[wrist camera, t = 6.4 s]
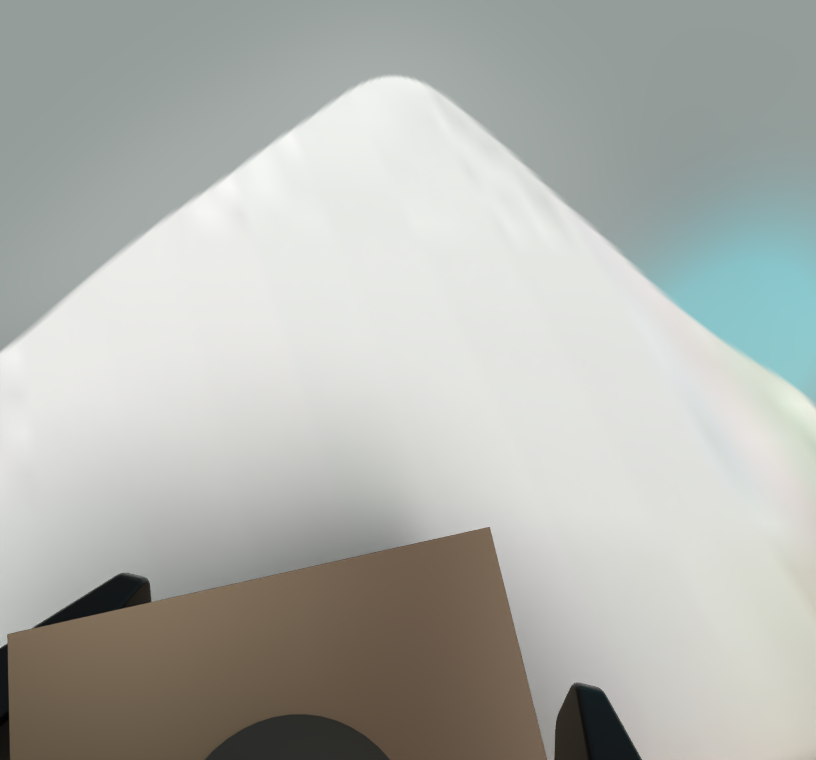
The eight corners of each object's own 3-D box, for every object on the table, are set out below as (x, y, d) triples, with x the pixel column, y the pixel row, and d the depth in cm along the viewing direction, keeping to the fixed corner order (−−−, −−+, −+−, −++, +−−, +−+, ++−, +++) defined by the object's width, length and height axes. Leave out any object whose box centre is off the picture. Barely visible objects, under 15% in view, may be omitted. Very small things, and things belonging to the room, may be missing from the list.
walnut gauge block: (281, 803, 14) (17, 1326, 5) (252, 586, 16) (3, 634, 6) (484, 753, 14) (642, 1143, 5) (438, 544, 16) (489, 527, 6)
